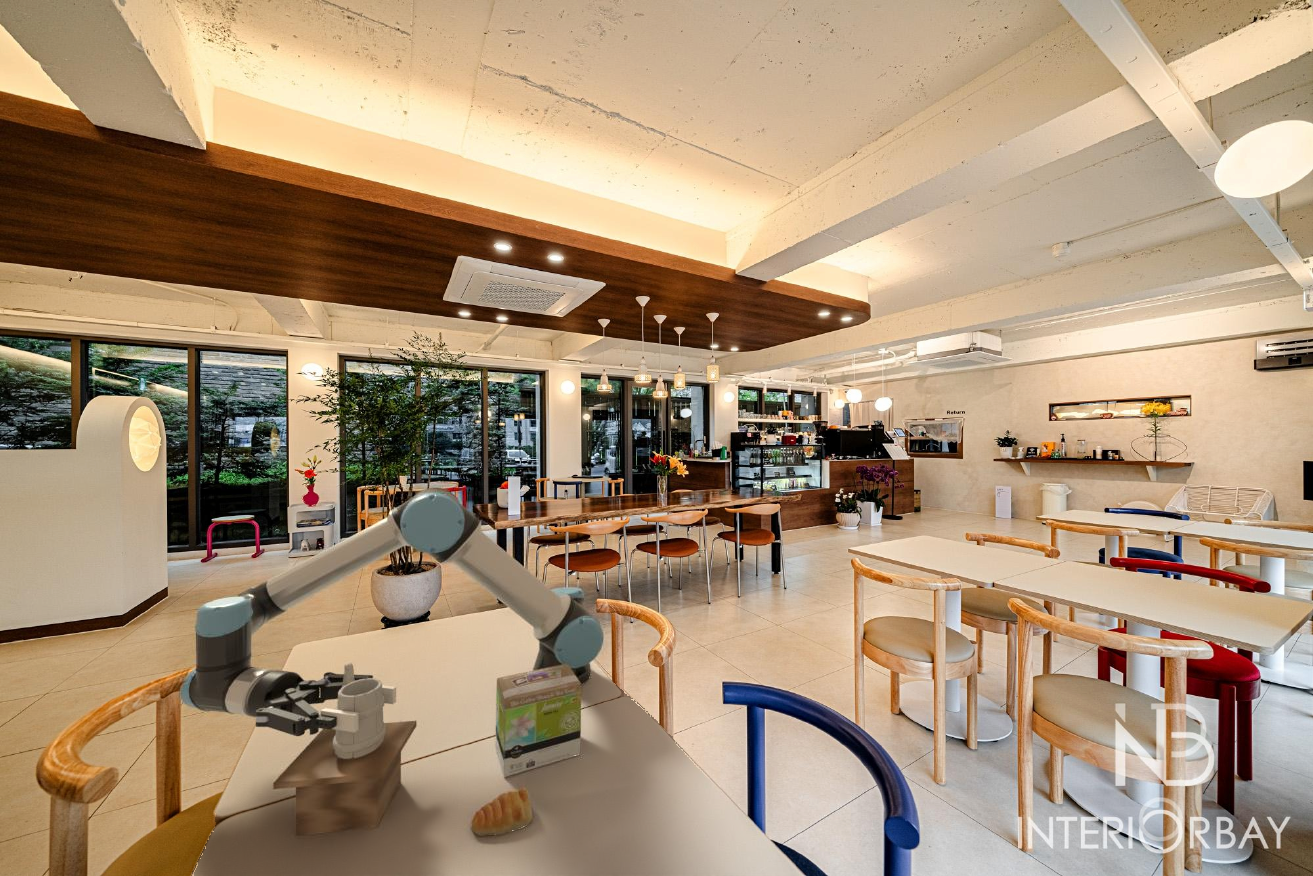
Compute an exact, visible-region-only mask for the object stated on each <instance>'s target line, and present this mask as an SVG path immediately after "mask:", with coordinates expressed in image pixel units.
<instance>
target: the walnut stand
mask: <svg viewBox="0 0 1313 876" xmlns="http://www.w3.org/2000/svg"><path fill="white" fill-rule="evenodd" d="M384 723H385V725H386V733H385V735H384V740H383V742H382V743H381V745H380V746H379V747H378V748H377V749H376V750H374V751H373V752H371V753H369V754H366V755H364V756H361V757H358V758H354V757H353V758H351V759H342V758H339V757H337V755H336V754H335V749H334V748H333V739H334V736H335V735H336V730H335V729H322V730H320V731H319V732H318V733H317V734H316V735H315V737H314V738H313V739H312V740H311V741H310V742H309V743H308V745H306V747H305V748H304V749H303V750H302V751H301V752H300V753H299V754H298V755H297V756H296V758H294V760H293V761H292V762H291V763H289V765H288V766H287V767H286V769H284V771H283V772H282V773H281V774H280V775H279V776H278V777H277V778H276V779H275V781H274V782H273V783H272V784H273V786H272V787H273V789H272V790H281V789H289V788H290V789H291V788H295V835H294V836H297V837H298V836H306V835H313V834H314V835H315V834H323V833H332V832H333V833H334V832H343V831H350V830H352V831H353V830H359V829H360V830H361V829H370V828H371V829H372V828H376V827H378V825H379V823H380V821H381V820H382V818H383V816H384V814H385V812H386V810H387V809H388V807H389V805H390V803H391V802H392V800H393V798H394V796H395V794H396V792H397V791H398V789H399V788H400V785H401V783H402V751H403V749H404V748H405V746H406V744H407V742H408V741H409V739H410V737H411V736H412V734H413V732H414V731H415V729H416V728H417V723H418V722H417V720H407V721H395V722H392V721H391V722H384Z"/></svg>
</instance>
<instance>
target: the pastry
mask: <svg viewBox="0 0 1313 876" xmlns="http://www.w3.org/2000/svg"><path fill="white" fill-rule="evenodd" d="M530 801H531V800H530V795H529V790H528V789H527V788H526V787H524V786H522V787H521V788H520V789H516V790H511V791H508V792H504V793H501V794H499V796H497V798H494V799H493V800H492V801H491V802H487V804H484V806H483V807H480V809H479V810H478V811H476V812H475V814H474V815H473V817H472V820H471V823H470V824H471V827H470V828H471V831H472V832H473V833H474V834H476V835H477V836H479V837H485V835H486V836H502V834H503V835H505V834H507V833H506V832H508V833H511V832H513V831H512V830H515V831H517V830H516V829H518V830H520V829H519V828H521V827H523V826H525V827H527V826H529V825H530V824H531V823H532V821H533V809H532V806H531V802H530ZM530 822H531V823H530ZM529 823H530V824H529ZM528 824H529V825H528ZM526 825H527V826H526ZM521 829H522V828H521ZM510 831H511V832H510ZM495 834H496V835H495Z"/></svg>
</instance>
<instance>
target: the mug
mask: <svg viewBox="0 0 1313 876" xmlns="http://www.w3.org/2000/svg"><path fill="white" fill-rule="evenodd" d="M343 667H344V673H343V674H344V678H343V683H342V688H341V689H340V690H339V692H338V699H337V705H336V707H335V710H342V711H349V712H356V713H358V730H357V731H356V732H348V731H342V730H336V735H335V736H334V739H333V748H334V749H335V754H336V755H337V757H339V758H342V759H351V758H353V757H354V758H358V757H361V756H364V755H366V754H369V753H371V752H373V751H374V750H376V749H377V748H378V747H379V746H380V745H381V743H382V742H383V740H384V735H385V733H386V725H385V723H386V722H384V706H385V704H386V703H385V702H384V697H383V695H382V685H383V682H382V681H381V679H378V678H374V677H373V678H367V679H360V680H357V681H355V680H354V675H355V671H354V670H355V669H354V665H353V663H352V662H349V663H347V664H344V665H343Z"/></svg>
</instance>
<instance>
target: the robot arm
mask: <svg viewBox="0 0 1313 876" xmlns="http://www.w3.org/2000/svg"><path fill="white" fill-rule="evenodd" d="M404 546H408V547H412V549H415V550H416V551H419V552H421V553H425V554H428V556H431V558H433V559H434V560H435V561H437V562H438V563H439V564H440V565H444V564H445V565H446V564H453V565H454V566H456V567H457V568H458V569H459V570H461V571H462V572H463V573H465V575H467V576H468V577H470V578H471V579H472V580H473V581H475V582H476V583H477V584H479V585H480V586H481V587H483V588H484V589H485V590H486V591H487V592H488V593H490V594H491V595H492V596H493V597H495V598H496V599H497V600H498V601H500V602H501V603H503V605H505V606H507V607H508V609H510V610H511V611H513V612H514V613H515V614H516V615H518V617H520V618H522V619H523V620H524V621H525V622H526V623H528V624H529V625H530V626H531V627H533V636H534V638H535V640H537V641H538V644H539V646H538V647H539V648H538V652H537V656H536V658H535V662H534V665H533V668H532V671H534V670H539V669H543V668H548V667H553V666H558V665H562V664H568V665H569V667H570V668H571V670H572V671H573V673H574V674H575V675H576V677H577V678H578V680H579V681H580V683H581V686H583V685H584V684H583V683H585V682H586V681H587V680H588V679H590V678H591V675H592V674H591V667H592V666H591V662H593V661H594V660H595V659H596V658H597V656H598V655H599V654H600V652H601V650H602V647H603V644H604V638H605V637H604V636H605V635H604V631H603V628H602V626H601V625H602V624H601V623H600V621H599V620H598V619H596V617H595V616H594V615H593V614H592V613H591V611H589V609H588V608H587V607H586V606H585V598H586V597H585V593H584V592H585V591H584V590H583V589H582V588H580V587H575V586H572V587H571V586H568V587H567V586H566V587H565V586H563V587H556V588H550V587H549V586H548V585H547V584H545V583H544V582H543V581H541V580H540V579H539V578H538V577H537V576H535V575H534V574H533V573H532V572H531V571H530V570H528V569H527V568H526V567H525V566H523V565H522V564H521V563H520V562H519V561H518V560H516V558H514V557H513V556H511V555H510V554H509V553H508V552H507V551H506V550H504V548H502V547H500V546H499V544H497V543H496V542H495V541H494V540H492V538H490V536H488V535H487V534H485V533H484V532H483V530H482V521H481V520H480V519H479V518H477V516H475V515H474V514H473V513H472V512H471V511H469V510H468V509H467V508H466V507H465V506H464V505H463V504H461V502H460V500H459V498H458V497H457V496H456V494H454V493H453V492H452V491H450V490H448V489H445V488H443V487H429V488H425V489H423V490H420V491H419V492H417V493H415V494H414V496H412V497H411V498H409V499H408V500H406V501H405V502H404V503H402V504H401V505H398V506H396V507H394V508H393V509H391V510H389V512H388V515H387V517H385V518H383V519H381V520H380V521H378V522H376V523H374V524H372V525H370V526H368V527H366V528H365V529H363V530H360V531H359V532H357V533H355V534H352V535H351V536H349V537H347V538H346V539H344V540H342V541H340V542H338V543H336V544H334V545H332V546H330V547H328V548H327V549H325V550H323V551H321V552H319V553H317V554H315V555H313V556H312V557H309V558H307V559H305V560H304V561H302V562H301V563H300V562H299V563H298V564H295V566H293V567H290V568H289V569H287V570H285V571H283V572H281V573H279V574H278V575H276V576H274V577H272V578H270V579H268V580H267V581H264V582H262V583H261V584H259V585H257V586H252V587H249V588H248V589H246V590H245V591H243V592H240V593H239V594H238V595H237V596H231V597H230V596H229V597H228V596H227V597H222V598H218V599H217V598H216V599H213V600H211V601H209V602H206V603H204V604H202V605H201V606H200V607H199V608H198V609H197V612H196V622H195V625H194V630H195V631H194V632H195V667H194V669H192V670H191V671H190V672H189V673H188V674H187V675H186V676H185V678H184V681H183V683H182V685H181V686H180V690H179V697H180V700H181V701H182V703H183V705H186V706H188V707H191V708H194V709H198V710H199V711H203V712H218V713H219V712H220V713H228V714H231V715H232V714H233V715H240V716H247V717H250V718H253V717H254V718H255V727H256V728H270V729H273V730H277V731H279V732H282V733H285V734H289V735H291V736H295V737H301V736H303V735H304V734H306V731H307V730H309V735H310V736H312V735H317V734H319V732H320V731H319V729H335V730H342V731H348V732H356V731H357V730H358V713H356V712H349V711H342V710H335V709H336V708H335V709H333V708H326V707H324V708H323V709H321V710H320V712H319V710H318V709H316V708H315V707H314V706H313V705H316V704H323V703H325V702H326V701H329V700H332V701H333V700H338V692H339V690H340V689H341V688H342V683H343V678H344V673H334V672H331V671H327V672H325V673H323V678H321V679H319V680H314V679H311V680H309V679H308V680H304V679H303V678H302V676H301V675H300V674H299V673H297V672H295V671H294V672H293V671H287V670H280V669H279V670H278V669H274V668H262V667H256V666H255V667H254V666H252V639H253V638H252V637H253V635H254V634H255V633H256V632H257V631H258V630H259V629H261V627H263V625H264V624H266V623H267V622H270V621H272V619H274V618H276V617H278V616H280V615H282V614H283V613H285V612H287V611H288V610H289V609H292V608H293V607H295V606H297V605H299V604H301V603H303V602H305V601H306V600H308V599H309V598H312V597H314V596H315V595H317V594H319V593H321V592H323V591H324V590H326V589H328V588H330V587H331V586H334V585H335V584H337V583H340V582H341V581H342V580H345V579H346V578H348V577H350V576H352V575H354V574H355V573H357V572H359V571H361V570H362V569H365V568H366V567H368V566H370V565H371V564H373V563H375V562H377V561H379V560H381V559H383V558H384V557H386V556H388V555H390V554H392V553H393V552H396V551H397V550H399V549H401V548H402V547H404ZM590 674H591V675H590ZM589 677H590V678H589ZM367 678H374V675H372V674H354V680H355V681H357V680H360V679H367ZM588 681H589V680H588ZM588 681H587V682H588ZM587 682H586V683H587ZM586 683H585V684H586ZM582 684H583V685H582ZM382 695H383V697H384V702H385V704H386V705H387V704H388V705H394V704H395V703H397V686H392V685H383V684H382Z"/></svg>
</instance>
